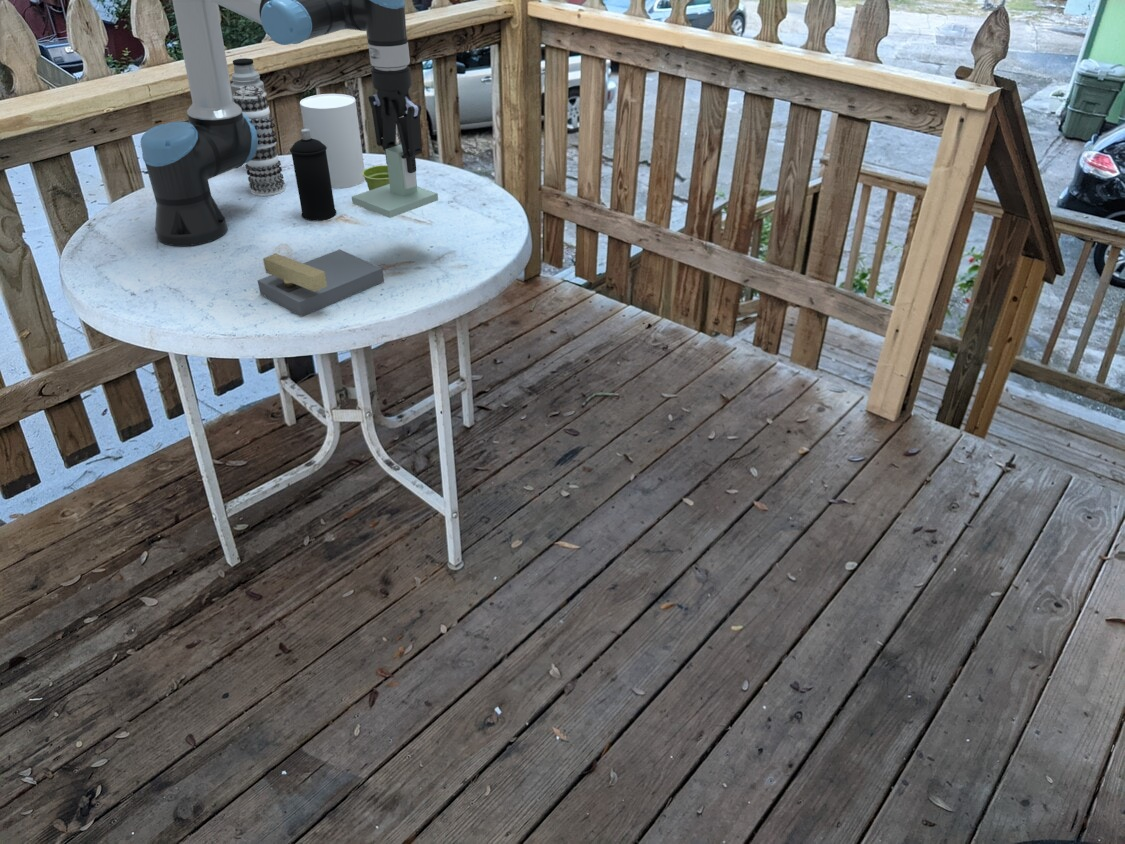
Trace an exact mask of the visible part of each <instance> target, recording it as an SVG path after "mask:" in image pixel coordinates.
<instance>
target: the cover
mask: <svg viewBox="0 0 1125 844" xmlns="http://www.w3.org/2000/svg"><path fill="white" fill-rule="evenodd" d="M385 150H386V155H385V160H386V159H387V163H386V165H387V167H388V176H389V184H388V185H385V186H382V187H379V188H376V189H373V190H370V191H369V190H367V191H364V192H361V193H359V194H355V195H352V196H351V201H352V202H351V203H352V204H353V205H355V206H358V207H360V208H363V209H366V210H368V211H371V212H373V213H376V214H379V215H381V216H383V217H386V218H389V219H392V218H394V217H397V216H399V215H402V214H405V213H408V212H410V211H412V210H416V209H418V208H421V207H424V206H426V205H429V204H432V203H435V202H437V201H439V197H438V195H439V194H438V192H434V191H432V190H429V189H426V188H423V187H421V186H418V185H417V186H415V187H412V188H409V189H405V188H404V178H403V169H402V160H401V156H402V155H404V154H403V149H402V145H401V144H397V146H394V147H391V148H388V149H385ZM408 151H409V150H408ZM416 182H417V180H416Z"/></svg>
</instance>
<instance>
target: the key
mask: <svg viewBox="0 0 1125 844" xmlns="http://www.w3.org/2000/svg"><path fill="white" fill-rule="evenodd" d="M262 261H263V265H264V270H265V274H268V275H269V276H271V275H273V276H275V277H278V278H281V279H283V281H284V286H285V287H294V286H296V285H299V286H301V287H304V288H307V289H309V290H312V291H314V292H316V291H318V290H320V289H322V288H324V287H326V286H327V282H326V277H325V272H324V271H322V270H319V269H316V268H314V267H311V266H308V265H305V264H303V263H304V262H303V263H302V262H299V261H297V260H294V259H291V258H289V257H286V256H283V255H280V254H278V253H273V254H271V255H269V256H266V257H264V258H262Z"/></svg>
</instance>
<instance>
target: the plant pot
mask: <svg viewBox="0 0 1125 844" xmlns="http://www.w3.org/2000/svg"><path fill="white" fill-rule="evenodd" d="M364 169H365V170H364V171H363V172H362V175H363V176H364V177H365V183H366V184H367V187H368V191H370V190H373V189H376V188H379V187H382V186H385V185H388V184H389V176H388V167H387V164H385V165H384V164H383V165H382V164H381V165H375V166H374V165H373V166H370V167H368V168H364Z"/></svg>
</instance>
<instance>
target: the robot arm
mask: <svg viewBox="0 0 1125 844" xmlns="http://www.w3.org/2000/svg"><path fill="white" fill-rule="evenodd" d="M171 1H172V5H173V10H174V14H175V15H174V16H175V21H176V26H177V30H178V36H179V41H180V47H181V51H182V55H183V57H182V58H183V61H184V68H185V71H186V76H187V82H188V86H189V91H190V96H191V101H192V103H191V105H190V106H189V108H187V110H186V114H187V119H188V121H177V120H176V121H170V122H167V123H161V124H158V125H154V126H152V127H150V128H149V129H148V130H146V131H145V132H144V133H143V134H142V136H141V138H140V147H141V153H142V155H141V156H142V159H143V162H144V165H145V168H146V171H147V174H148V177H149V181H150V184H151V185H150V186H151V189H152V192H153V195H154V199H155V202H156V204H155V205H156V210H155V225H154V229H155V230H154V231H155V234H156V238H157V239H158V241H159V242H160V243H163V244H164V245H169V246H177V247H181V246H182V247H186V246H187V247H188V246H195V245H202V244H206V243H210V242H212V241H214V240H217V239H219V238H221V237H223V236H224V235H226V234H227V232H228V224H227V220H226V217H225V215H224V214H223V212H222V211H221V209H220V207H219V206H218V204H217V202H216V201H215V199H214V198H213V196H212V193H211V187H210V184H209V180H211V179H212V178H215V177H217V176H220V175H222V174H224V173H227V172H230V171H231V170H234V169H239V168H241V167H242V166H243V165H246V164H247V162H249V161H250V160H251V159H252V158H253V157H254V155H255V153H256V151H257V147H258V137H257V132H256V129H255V127H254V125H251V120H250V119H249V118H248V117H247V116H246V115H245V114H243V113H242V108H241V107H240V106H238V105H237V104H236V103H235V102H234V98H233V96H232V95H233V94H232V89H231V80H230V73H229V68H228V67H229V66H228V61H227V55H226V49H225V45H224V39H223V38H224V37H223V31H222V27H221V26H222V25H221V20H220V13H219V7H218V5H219V6H221V7H222V8H225V9H227V10H228V11H229V10H230V12H231V11H232V12H234V13H236V14H237V15H240V16H243V17H244V18H246V19H248V20H250V21H252V22H255V23H257V24H258V25H261V26H262V28H263V30H264V32H265V34H266V35H268V36H269V38H270V39H271V41H273V43H276V44H278V45H281V46H287V45H288V46H289V45H297V44H300V43H303V42H305V41H308V40H311V39H314V38H318V37H322V36H324V35H325V36H326V35H328V34H332V33H336V32H339V31H344V30H351V31H353V30H354V31H361V32H366V39H367V44H368V53H369V61H370V65H371V69H370V72H371V81H372V87H373V88H374V89H375V90H376V91H377V92H376V94H372V95H368V102H369V104H370V109H371V113H372V120H373V127H374V134H375V141H376V145H377V146H378V147H382V150H383V151H384V153H385V156H386V150H385V149H388V148H391V147H394V146H398V144H396V140H397V138H396V137H397V133H398V136H399V139H400V145H402V149H403V154H404V155H402V156H401V160H402V169H403V178H404V188H405V189H409V188H412V187H415V186H418V183H417V182H416V181H417V161H416V156H418V155H419V156H420V155H422V154H423V140H422V128H421V113H422V106H421V105H420V104H415V103H413V102H412V99H411V96H410V93H409V90H410V88H411V87H412V84H413V83H412V72H411V67H410V66H409V65H410V62H411V60H410V49H409V41H408V36H407V24H406V23H407V21H406V1H405V0H171ZM397 131H398V132H397ZM408 150H409V151H408ZM385 161H386V164H387V159H386V158H385Z"/></svg>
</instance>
